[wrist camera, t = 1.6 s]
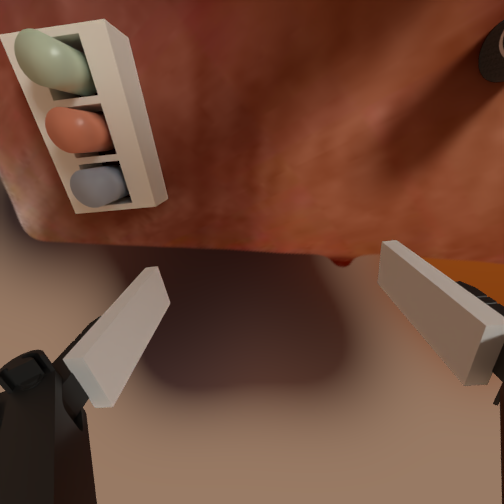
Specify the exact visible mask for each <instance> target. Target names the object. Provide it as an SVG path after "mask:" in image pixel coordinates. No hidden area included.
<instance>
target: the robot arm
mask: <svg viewBox="0 0 504 504" xmlns="http://www.w3.org/2000/svg"><path fill="white" fill-rule="evenodd" d="M378 284H379V286H380V287H381V288H382V289H383V290H384V291H385V293H386V294H387V295H388V296H389V297H390V299H391V300H392V301H393V302H394V303H395V304H396V306H398V308H399V309H400V310H401V312H402V313H403V314H404V315H405V316H406V318H407V319H408V320H409V321H410V322H411V323H412V325H413V326H414V327H415V328H416V329H417V331H418V332H419V333H420V334H421V335H422V336H423V338H424V339H425V340H426V341H427V342H428V344H429V345H430V346H431V347H432V348H433V349H434V351H435V352H436V353H437V354H438V356H439V357H440V358H441V359H442V360H443V361H444V363H445V364H446V365H447V366H448V367H449V369H450V370H451V371H452V372H453V373H454V375H455V376H456V377H457V378H458V379H459V380H460V382H461V383H462V384H463V385H464V386H471V385H487V384H488V382H489V380H490V377H491V375H492V373H494V374H495V375H496V376H497V377H498V378H499V379H500V380H501V381H502V382H503V383H502V385H501V387H500V389H499V392H498V394H497V396H496V398H495V400H494V403H493V404H495V405H498V404H499V402H500V421H501V422H500V425H501V474H502V475H501V476H502V504H504V306H502V305H501V304H497V302H496V301H495V300H493V299H492V298H490V297H487V295H486V294H484V293H483V292H481V291H480V290H478V289H477V288H475V287H473V286H470V285H468V284H465V283H463V282H461V281H458V282H454V281H453V280H452V279H450V278H449V277H447V276H446V275H445V274H443V273H442V272H440V271H439V270H438V269H436V268H435V267H433V266H432V265H430V264H429V263H427V262H426V261H425V260H423V259H422V258H421V257H419V256H418V255H416V254H415V253H414V252H412V251H411V250H409V249H408V248H407V247H405V246H404V245H402V244H401V243H400V242H398V241H397V240H392V241H383V242H382V245H381V255H380V266H379V274H378ZM169 305H170V301H169V298H168V295H167V292H166V289H165V286H164V283H163V280H162V278H161V275H160V272H159V269H158V267H148V268H145V269H144V270H143V271H142V272H141V273H140V274H139V276H138V277H137V278H136V279H135V280H134V281H133V282H132V283H131V284H130V285H129V287H128V288H127V289H126V290H125V291H124V292H123V293H122V294H121V295H120V297H119V298H118V299H117V300H116V301H115V302H114V303H113V304H112V305H111V306H110V308H109V309H108V310H107V311H106V312H105V313H104V314H103V315H102V316H100V317H98V318H97V319H95V320H94V321H93V322H91V323H90V324H89V325H88V326H87V327H86V328H85V329H84V330H83V331H82V334H79V335H78V337H77V338H76V339H75V341H73V342H72V343H71V344H70V345H69V346H68V347H67V348H66V350H64V352H63V353H62V354H61V355H60V356H59V357H58V358H57V359H56V360H55V361H54V362H53V363H51V362H50V360H49V359H48V357H47V356H46V355H45V353H44V352H43V351H41V350H33V351H30V352H27V353H24V354H22V355H20V356H18V357H16V358H14V359H12V360H11V361H10V362H8V363H7V364H6V365H4V366H3V367H2V368H1V369H0V385H1V386H2V387H3V389H4V390H5V391H4V392H2V393H0V504H97V501H96V492H95V484H94V476H93V467H92V458H91V450H90V443H89V442H90V441H89V433H88V424H87V416H86V412H85V410H84V409H83V406H84V405H85V403H86V402H87V400H88V399H90V401H91V402H92V404H93V406H94V407H95V408H102V407H113V406H114V404H115V402H116V400H117V399H118V397H119V395H120V393H121V391H122V390H123V388H124V386H125V384H126V382H127V381H128V379H129V377H130V375H131V373H132V372H133V370H134V368H135V366H136V364H137V363H138V361H139V359H140V357H141V355H142V353H143V352H144V350H145V348H146V346H147V345H148V343H149V341H150V339H151V337H152V335H153V334H154V332H155V330H156V328H157V326H158V325H159V323H160V321H161V319H162V317H163V315H164V314H165V312H166V310H167V308H168V306H169Z"/></svg>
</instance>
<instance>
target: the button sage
mask: <svg viewBox="0 0 504 504" xmlns="http://www.w3.org/2000/svg"><path fill="white" fill-rule="evenodd" d="M14 51H15V56H16V59H17V62H18V64H19V66H20V68H21V70H22V71H23V72H24V74H25V75H26V76H27V77H28V78H29V79H30V80H31V81H33V82H34V83H36V84H38V85H40V86H44V87H48V88H52V89H56V90H60V91H64V92H68V93H72V94H76V95H80V96H84V97H87V96H92V95H93V94H95V93H96V92H97V90H96V87H95V84H94V81H93V77H92V74H91V71H90V68H89V65H88V62H87V59H86V55H85V54H84V53H83V52H81V51H79V50H77V49H75V48H73V47H71V46H69V45H67V44H65V43H63V42H61V41H59V40H57V39H54V38H52V37H50V36H48V35H46V34H44V33H42V32H40V31H38V30H35V29H24V30H22V31H21V32H19V34H18V35H17V37H16V39H15V43H14Z"/></svg>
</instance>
